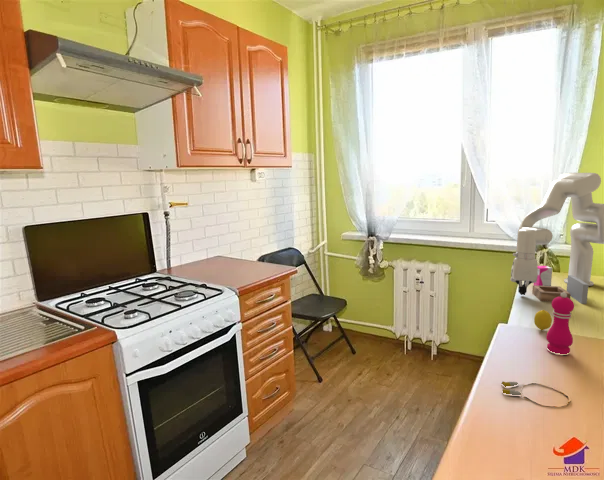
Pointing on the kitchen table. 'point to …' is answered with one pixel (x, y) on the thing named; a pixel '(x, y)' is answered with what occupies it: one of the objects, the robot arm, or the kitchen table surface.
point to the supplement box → (544, 276)
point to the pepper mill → (560, 325)
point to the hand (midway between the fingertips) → (522, 294)
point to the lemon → (542, 320)
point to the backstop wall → (577, 289)
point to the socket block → (548, 292)
